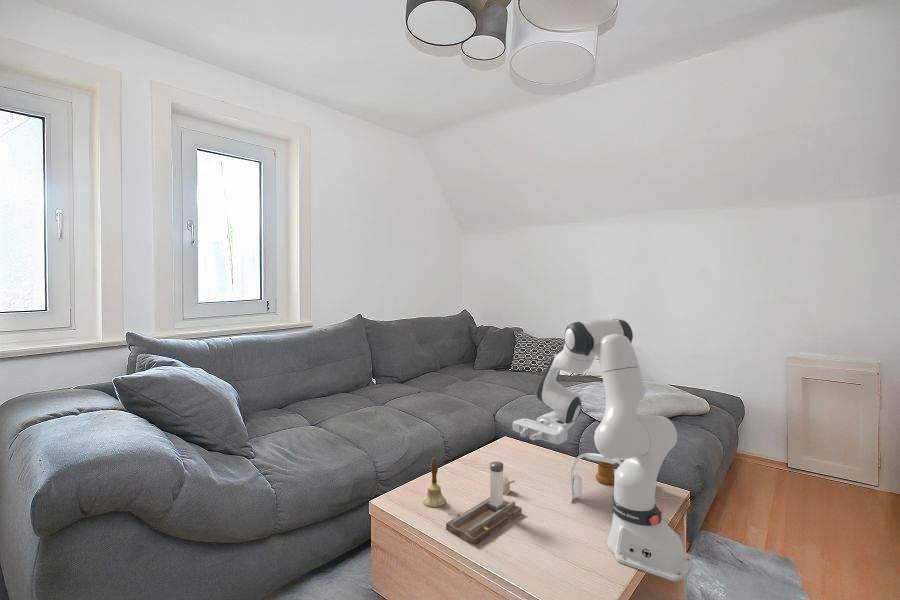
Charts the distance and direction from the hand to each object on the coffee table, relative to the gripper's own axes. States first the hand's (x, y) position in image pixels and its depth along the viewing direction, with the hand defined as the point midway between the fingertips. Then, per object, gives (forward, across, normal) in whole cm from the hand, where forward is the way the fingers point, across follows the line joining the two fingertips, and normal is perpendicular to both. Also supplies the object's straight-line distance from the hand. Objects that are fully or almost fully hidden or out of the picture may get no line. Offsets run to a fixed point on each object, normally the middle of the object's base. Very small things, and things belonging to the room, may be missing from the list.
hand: (526, 436), depth 157 cm
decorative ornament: (+3, -8, +22) cm, 24 cm away
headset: (-13, +22, +22) cm, 34 cm away
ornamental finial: (-31, +16, +22) cm, 41 cm away
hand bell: (+26, -21, +22) cm, 40 cm away
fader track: (+23, 0, +22) cm, 32 cm away
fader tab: (+17, 0, +20) cm, 26 cm away
